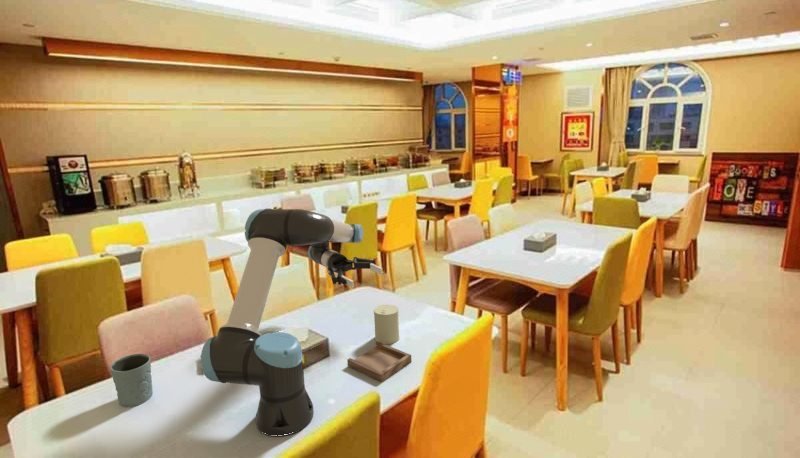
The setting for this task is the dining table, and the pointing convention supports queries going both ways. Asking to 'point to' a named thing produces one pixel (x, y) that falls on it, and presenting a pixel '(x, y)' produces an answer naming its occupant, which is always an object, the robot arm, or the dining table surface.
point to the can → (386, 324)
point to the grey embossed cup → (132, 379)
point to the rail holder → (380, 362)
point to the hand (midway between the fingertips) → (367, 278)
